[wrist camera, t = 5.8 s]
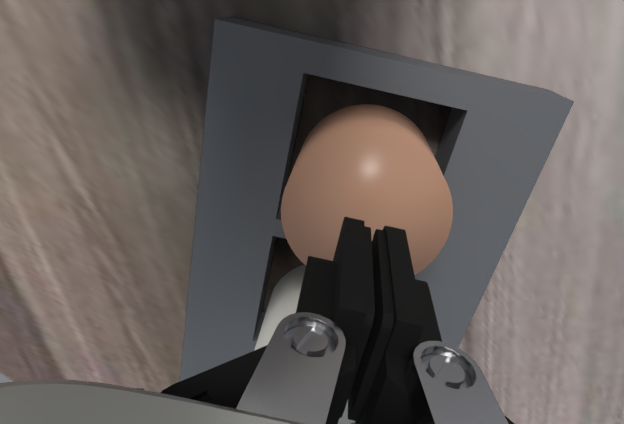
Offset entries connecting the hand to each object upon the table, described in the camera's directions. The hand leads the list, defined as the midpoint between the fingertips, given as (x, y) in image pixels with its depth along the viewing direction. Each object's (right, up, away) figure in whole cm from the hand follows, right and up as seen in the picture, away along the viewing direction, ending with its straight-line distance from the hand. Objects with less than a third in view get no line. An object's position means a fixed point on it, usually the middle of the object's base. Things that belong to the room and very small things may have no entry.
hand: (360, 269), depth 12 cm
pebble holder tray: (0, -2, +12) cm, 12 cm away
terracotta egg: (+1, +3, +6) cm, 7 cm away
